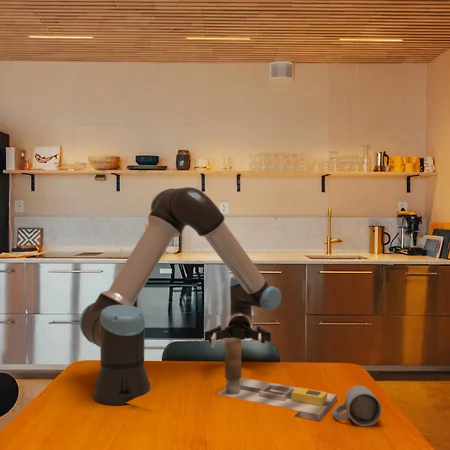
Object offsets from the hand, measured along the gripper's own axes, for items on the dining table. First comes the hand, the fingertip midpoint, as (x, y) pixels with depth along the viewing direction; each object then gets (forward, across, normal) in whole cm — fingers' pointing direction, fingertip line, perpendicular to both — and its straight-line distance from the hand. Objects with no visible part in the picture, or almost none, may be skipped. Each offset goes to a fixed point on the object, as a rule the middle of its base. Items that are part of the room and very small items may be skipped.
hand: (236, 343), depth 139 cm
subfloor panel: (+11, -11, -12) cm, 20 cm away
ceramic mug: (+22, -30, -12) cm, 39 cm away
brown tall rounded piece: (+10, 0, -10) cm, 14 cm away
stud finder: (+14, -20, -10) cm, 26 cm away
